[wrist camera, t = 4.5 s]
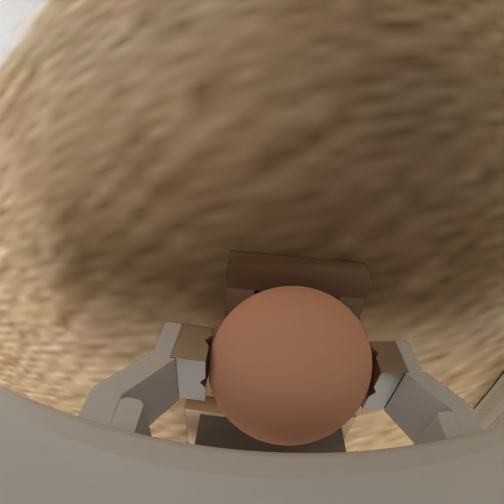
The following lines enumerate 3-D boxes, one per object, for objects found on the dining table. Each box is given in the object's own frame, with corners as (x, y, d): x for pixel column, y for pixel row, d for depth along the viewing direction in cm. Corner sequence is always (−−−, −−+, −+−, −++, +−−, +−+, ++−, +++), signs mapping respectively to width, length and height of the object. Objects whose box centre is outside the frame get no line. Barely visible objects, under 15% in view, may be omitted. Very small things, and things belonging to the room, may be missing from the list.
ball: (222, 249, 10) (193, 356, 6) (368, 265, 11) (424, 367, 6) (216, 359, 13) (197, 464, 8) (334, 368, 13) (353, 469, 8)
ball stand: (230, 250, 12) (227, 263, 11) (364, 263, 12) (371, 275, 11) (225, 353, 14) (223, 369, 13) (335, 360, 14) (339, 375, 13)
